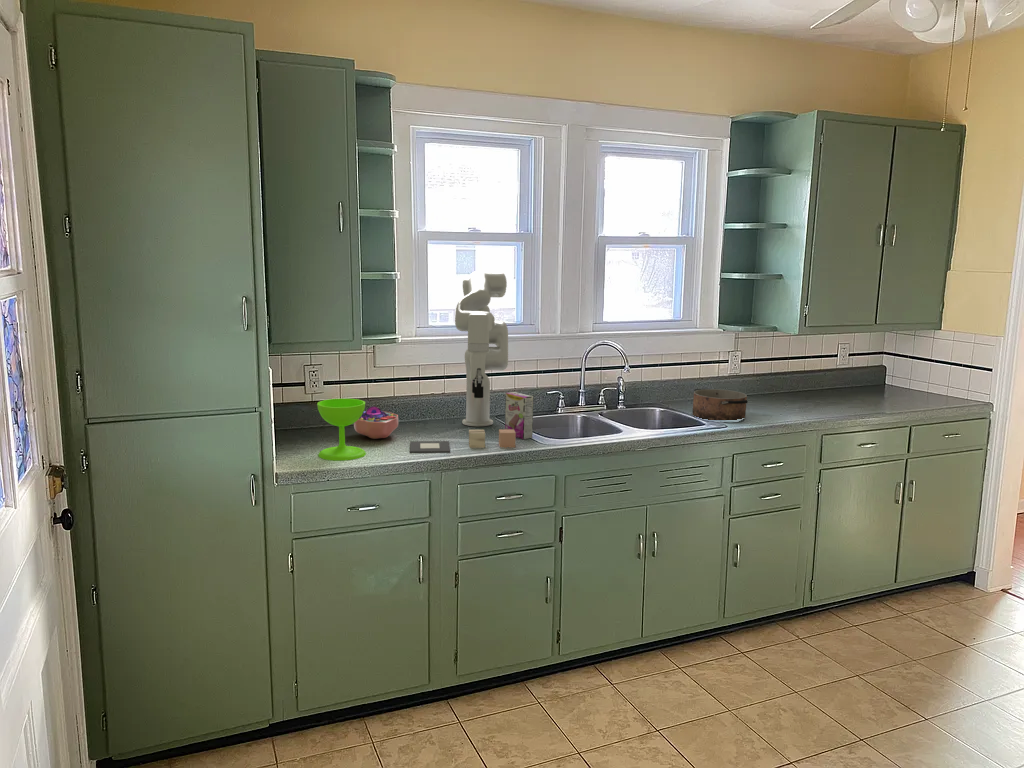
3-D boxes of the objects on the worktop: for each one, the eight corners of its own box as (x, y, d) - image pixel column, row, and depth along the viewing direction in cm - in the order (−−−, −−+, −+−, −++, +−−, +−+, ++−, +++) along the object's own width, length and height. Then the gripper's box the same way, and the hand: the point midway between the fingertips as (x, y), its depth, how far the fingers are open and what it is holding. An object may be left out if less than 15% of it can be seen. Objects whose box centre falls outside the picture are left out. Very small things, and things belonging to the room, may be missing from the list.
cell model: (355, 445, 279) (354, 414, 277) (350, 432, 298) (349, 403, 296) (402, 442, 284) (401, 412, 282) (394, 430, 302) (394, 401, 300)
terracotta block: (498, 444, 285) (498, 429, 284) (513, 443, 286) (513, 429, 285) (500, 447, 280) (500, 432, 279) (515, 447, 280) (515, 432, 279)
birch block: (468, 444, 284) (468, 429, 283) (483, 444, 284) (484, 429, 283) (469, 448, 278) (469, 433, 277) (485, 447, 279) (485, 433, 278)
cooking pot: (677, 412, 348) (678, 388, 347) (718, 409, 357) (720, 386, 355) (718, 426, 321) (720, 401, 319) (762, 423, 329) (763, 398, 327)
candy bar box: (503, 434, 300) (504, 392, 297) (513, 432, 303) (514, 391, 300) (523, 440, 291) (524, 397, 288) (533, 438, 295) (534, 395, 292)
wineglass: (357, 446, 277) (357, 397, 274) (372, 457, 263) (371, 405, 260) (313, 451, 269) (311, 400, 266) (325, 462, 255) (324, 409, 252)
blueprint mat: (410, 442, 283) (410, 441, 283) (448, 442, 285) (448, 440, 285) (409, 452, 270) (409, 450, 270) (450, 452, 271) (450, 450, 271)
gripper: (466, 345, 283) (465, 391, 286) (469, 350, 266) (468, 399, 269) (486, 345, 284) (485, 391, 287) (491, 350, 267) (490, 399, 270)
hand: (477, 395), depth 278 cm, fingers open, 9 cm apart
